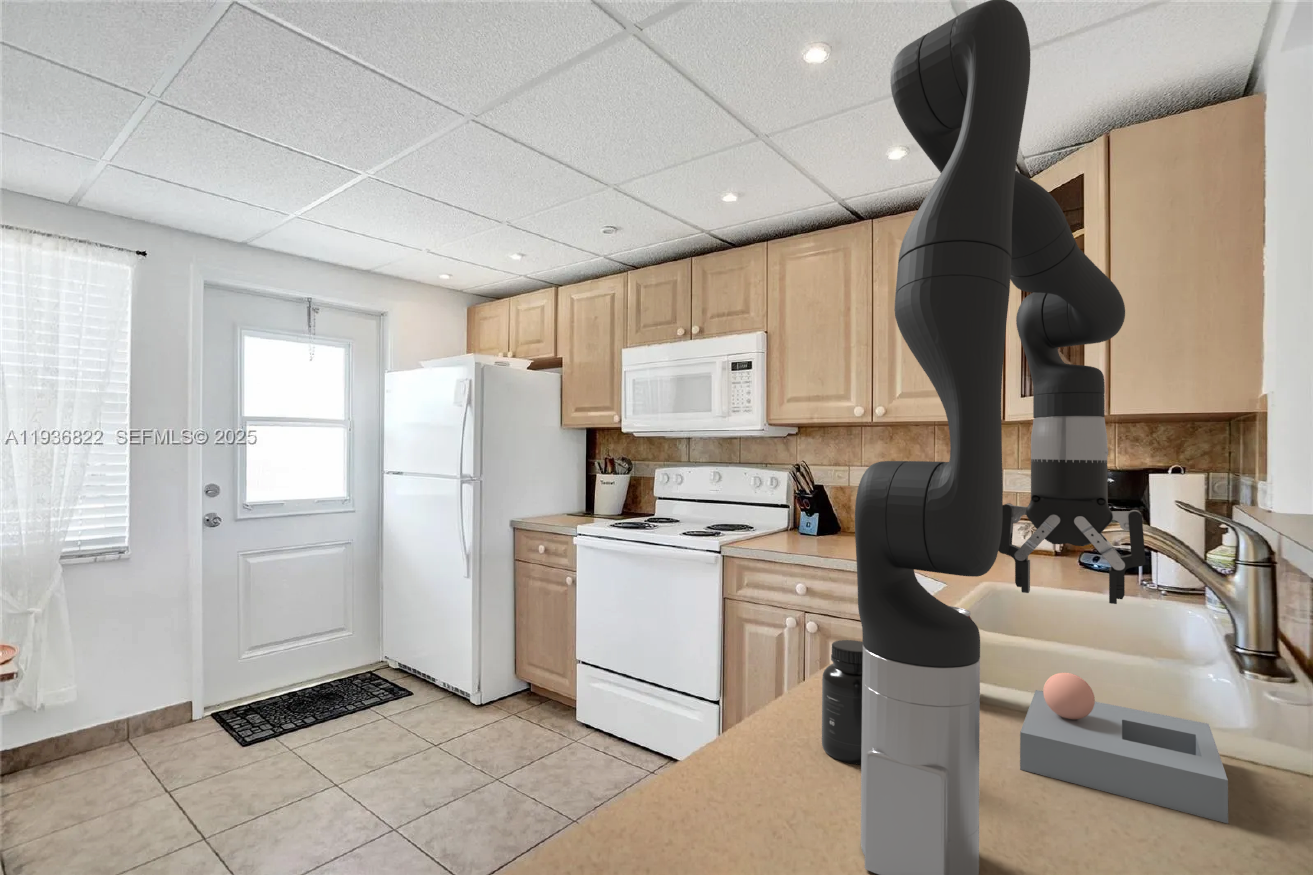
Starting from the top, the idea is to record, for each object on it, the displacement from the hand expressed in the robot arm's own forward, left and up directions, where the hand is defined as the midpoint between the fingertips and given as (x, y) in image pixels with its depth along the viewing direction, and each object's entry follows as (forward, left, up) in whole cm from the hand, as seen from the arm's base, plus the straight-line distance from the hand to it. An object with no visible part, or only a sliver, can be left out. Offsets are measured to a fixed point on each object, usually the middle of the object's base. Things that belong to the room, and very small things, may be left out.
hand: (1068, 597), depth 75 cm
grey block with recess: (0, -5, -18) cm, 18 cm away
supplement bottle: (-15, +20, -18) cm, 31 cm away
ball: (0, 0, -11) cm, 11 cm away
